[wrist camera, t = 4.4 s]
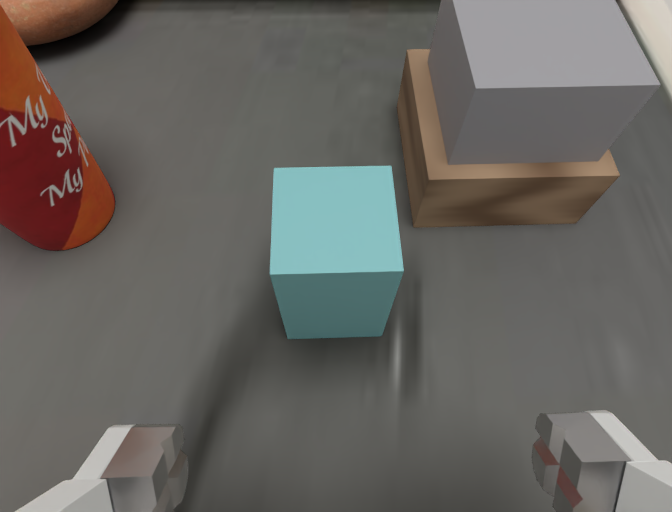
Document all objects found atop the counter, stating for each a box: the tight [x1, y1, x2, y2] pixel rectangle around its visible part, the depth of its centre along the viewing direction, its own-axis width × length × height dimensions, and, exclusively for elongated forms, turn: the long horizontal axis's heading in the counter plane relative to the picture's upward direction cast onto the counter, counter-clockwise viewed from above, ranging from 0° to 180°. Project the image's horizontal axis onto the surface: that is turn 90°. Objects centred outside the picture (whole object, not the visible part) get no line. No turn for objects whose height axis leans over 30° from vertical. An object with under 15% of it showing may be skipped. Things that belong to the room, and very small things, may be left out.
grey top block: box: [428, 0, 660, 165], centre depth 23 cm, size 8×8×5 cm
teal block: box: [270, 166, 404, 339], centre depth 21 cm, size 5×5×8 cm
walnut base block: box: [397, 49, 620, 227], centre depth 27 cm, size 10×10×5 cm
